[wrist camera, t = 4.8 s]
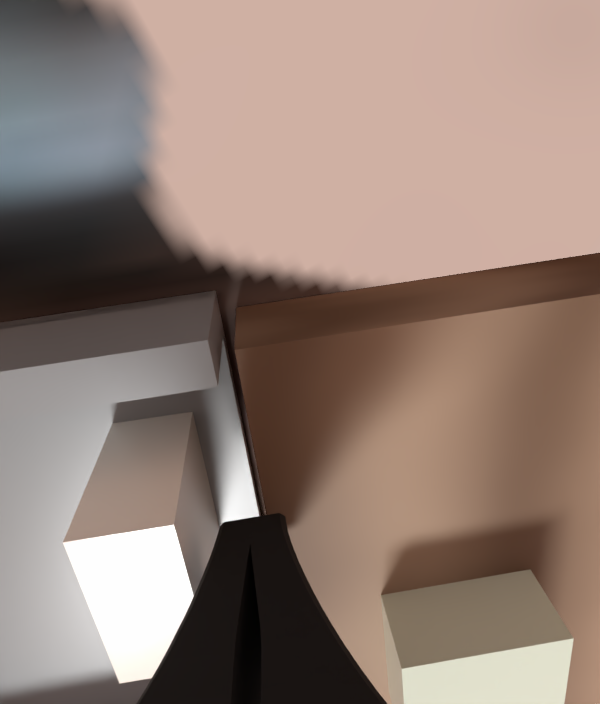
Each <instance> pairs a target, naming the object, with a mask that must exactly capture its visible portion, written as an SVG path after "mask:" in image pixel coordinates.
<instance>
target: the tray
mask: <svg viewBox="0 0 600 704" xmlns="http://www.w3.org/2000/svg"><path fill="white" fill-rule="evenodd" d="M187 412H193V416H194V420H195V424H196V429H197V433H198V437H199V442H200V446H201V450H202V455H203V459H204V463H205V468H206V472H207V476H208V481H209V485H210V489H211V494H212V498H213V502H214V507H215V511H216V515H217V520H218V524H219V528H220V526H221V525H222V524H223V523H224V522H227V521H234V520H240V519H246V518H252V517H258V516H261V512H260V507H259V502H258V497H257V492H256V487H255V482H254V477H253V472H252V467H251V463H250V458H249V453H248V448H247V443H246V438H245V433H244V428H243V423H242V418H241V413H240V408H239V403H238V398H237V393H236V388H235V383H234V378H233V373H232V368H231V363H230V358H229V353H228V349H227V344H226V339H225V334H224V329H223V324H222V319H221V314H220V309H219V304H218V299H217V294H216V290H215V291H209V292H202V293H195V294H189V295H182V296H175V297H168V298H162V299H155V300H148V301H142V302H135V303H128V304H122V305H115V306H108V307H101V308H95V309H88V310H81V311H75V312H68V313H61V314H55V315H48V316H41V317H35V318H28V319H21V320H14V321H8V322H1V323H0V704H136V703H137V702H138V700H139V699H140V697H141V695H142V694H143V692H144V690H145V689H146V687H147V685H148V684H149V682H150V680H151V679H152V678H149V679H143V680H137V681H132V682H126V683H119V681H118V678H117V676H116V673H115V671H114V668H113V666H112V664H111V661H110V659H109V656H108V654H107V651H106V649H105V646H104V644H103V641H102V639H101V636H100V634H99V631H98V629H97V626H96V624H95V621H94V619H93V616H92V614H91V611H90V609H89V606H88V604H87V601H86V599H85V597H84V594H83V592H82V589H81V587H80V584H79V582H78V579H77V577H76V574H75V572H74V569H73V567H72V564H71V562H70V559H69V557H68V554H67V552H66V549H65V547H64V544H63V541H64V538H65V536H66V534H67V531H68V529H69V526H70V524H71V522H72V519H73V517H74V514H75V512H76V510H77V507H78V505H79V502H80V500H81V498H82V495H83V493H84V490H85V488H86V486H87V483H88V481H89V478H90V476H91V474H92V471H93V469H94V466H95V464H96V462H97V459H98V457H99V454H100V452H101V450H102V447H103V445H104V442H105V440H106V438H107V435H108V433H109V430H110V428H111V426H112V423H119V422H126V421H133V420H140V419H146V418H153V417H160V416H167V415H174V414H181V413H187Z"/></svg>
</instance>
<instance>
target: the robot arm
mask: <svg viewBox="0 0 600 704" xmlns="http://www.w3.org/2000/svg"><path fill="white" fill-rule="evenodd" d="M136 704H387V702H386V701H385V700H384V699H383V697H382V696H381V695H380V694H379V692H378V691H377V690H376V689H375V687H374V686H373V684H372V683H371V682H370V680H369V679H368V678H367V676H366V675H365V673H364V672H363V671H362V669H361V668H360V667H359V665H358V664H357V662H356V661H355V659H354V658H353V656H352V655H351V653H350V652H349V650H348V649H347V647H346V646H345V644H344V643H343V641H342V640H341V638H340V637H339V635H338V633H337V632H336V630H335V629H334V627H333V625H332V624H331V622H330V620H329V619H328V617H327V615H326V613H325V612H324V610H323V608H322V607H321V605H320V603H319V601H318V599H317V597H316V596H315V594H314V592H313V590H312V588H311V586H310V584H309V582H308V580H307V578H306V576H305V574H304V572H303V570H302V567H301V565H300V563H299V561H298V558H297V556H296V553H295V551H294V548H293V545H292V543H291V540H290V536H289V533H288V529H287V523H286V518H285V516H284V515H282V514H281V513H276V514H270V515H264V516H258V517H252V518H246V519H240V520H234V521H227V522H224V523H223V524H222V525H221V526H220V528H219V531H218V535H217V538H216V541H215V544H214V547H213V550H212V553H211V555H210V558H209V561H208V563H207V566H206V568H205V571H204V573H203V576H202V578H201V581H200V583H199V585H198V588H197V590H196V592H195V594H194V597H193V599H192V601H191V604H190V606H189V608H188V610H187V612H186V614H185V616H184V618H183V620H182V622H181V624H180V626H179V628H178V630H177V632H176V634H175V636H174V638H173V640H172V642H171V644H170V646H169V648H168V650H167V652H166V654H165V656H164V657H163V659H162V661H161V663H160V665H159V666H158V668H157V670H156V672H155V673H154V675H153V677H152V679H151V680H150V682H149V684H148V685H147V687H146V689H145V690H144V692H143V694H142V695H141V697H140V699H139V700H138V702H137V703H136Z"/></svg>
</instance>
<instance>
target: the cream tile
mask: <svg viewBox="0 0 600 704" xmlns="http://www.w3.org/2000/svg"><path fill="white" fill-rule="evenodd" d="M218 531H219V524H218V520H217V515H216V511H215V507H214V502H213V498H212V494H211V489H210V485H209V481H208V476H207V472H206V468H205V463H204V459H203V455H202V450H201V446H200V442H199V437H198V433H197V429H196V424H195V420H194V416H193V412H187V413H181V414H174V415H167V416H160V417H153V418H146V419H140V420H133V421H126V422H119V423H112V426H111V428H110V430H109V433H108V435H107V438H106V440H105V442H104V445H103V447H102V450H101V452H100V454H99V457H98V459H97V462H96V464H95V466H94V469H93V471H92V474H91V476H90V478H89V481H88V483H87V486H86V488H85V490H84V493H83V495H82V498H81V500H80V502H79V505H78V507H77V510H76V512H75V514H74V517H73V519H72V522H71V524H70V526H69V529H68V531H67V534H66V536H65V538H64V541H63V544H64V547H65V549H66V552H67V554H68V557H69V559H70V562H71V564H72V567H73V569H74V572H75V574H76V577H77V579H78V582H79V584H80V587H81V589H82V592H83V594H84V597H85V599H86V601H87V604H88V606H89V609H90V611H91V614H92V616H93V619H94V621H95V624H96V626H97V629H98V631H99V634H100V636H101V639H102V641H103V644H104V646H105V649H106V651H107V654H108V656H109V659H110V661H111V664H112V666H113V668H114V671H115V673H116V676H117V678H118V681H119V683H126V682H132V681H137V680H143V679H149V678H152V677H153V675H154V673H155V672H156V670H157V668H158V666H159V665H160V663H161V661H162V659H163V657H164V656H165V654H166V652H167V650H168V648H169V646H170V644H171V642H172V640H173V638H174V636H175V634H176V632H177V630H178V628H179V626H180V624H181V622H182V620H183V618H184V616H185V614H186V612H187V610H188V608H189V606H190V604H191V601H192V599H193V597H194V594H195V592H196V590H197V588H198V585H199V583H200V581H201V578H202V576H203V573H204V571H205V568H206V566H207V563H208V561H209V558H210V555H211V553H212V550H213V547H214V544H215V541H216V538H217V535H218Z"/></svg>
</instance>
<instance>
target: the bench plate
mask: <svg viewBox="0 0 600 704" xmlns="http://www.w3.org/2000/svg"><path fill="white" fill-rule="evenodd" d="M235 355H236V360H237V365H238V371H239V376H240V381H241V386H242V391H243V396H244V401H245V406H246V411H247V417H248V422H249V427H250V432H251V437H252V442H253V447H254V452H255V457H256V462H257V468H258V473H259V478H260V483H261V488H262V493H263V498H264V503H265V508H266V514H267V515H270V514H276V513H281V514H282V515H284V516H285V518H286V523H287V529H288V533H289V536H290V540H291V543H292V545H293V548H294V551H295V553H296V556H297V558H298V561H299V563H300V565H301V567H302V570H303V572H304V574H305V576H306V578H307V580H308V582H309V584H310V586H311V588H312V590H313V592H314V594H315V596H316V597H317V599H318V601H319V603H320V605H321V607H322V608H323V610H324V612H325V613H326V615H327V617H328V619H329V620H330V622H331V624H332V625H333V627H334V629H335V630H336V632H337V633H338V635H339V637H340V638H341V640H342V641H343V643H344V644H345V646H346V647H347V649H348V650H349V652H350V653H351V655H352V656H353V658H354V659H355V661H356V662H357V664H358V665H359V667H360V668H361V669H362V671H363V672H364V673H365V675H366V676H367V678H368V679H369V680H370V682H371V683H372V684H373V686H374V687H375V689H376V690H377V691H378V692H379V694H380V695H381V696H382V697H383V699H384V700H385V701H386V702H387V704H392V702H391V698H390V694H389V688H388V676H387V664H386V652H385V640H384V628H383V616H382V604H381V595H384V594H390V593H396V592H402V591H407V590H413V589H419V588H425V587H431V586H437V585H442V584H448V583H454V582H460V581H466V580H471V579H477V578H483V577H489V576H495V575H501V574H506V573H512V572H518V571H524V570H530V569H531V571H532V573H533V574H534V576H535V577H536V579H537V581H538V582H539V584H540V585H541V587H542V589H543V590H544V592H545V593H546V595H547V597H548V598H549V600H550V601H551V603H552V605H553V606H554V608H555V609H556V611H557V613H558V614H559V616H560V617H561V619H562V621H563V622H564V624H565V625H566V627H567V629H568V630H569V632H570V633H571V635H572V636H573V638H574V640H573V647H572V654H571V661H570V667H569V674H568V681H567V688H566V695H565V702H564V704H600V253H595V254H589V255H582V256H576V257H569V258H563V259H556V260H549V261H543V262H536V263H529V264H523V265H516V266H509V267H503V268H496V269H489V270H483V271H476V272H469V273H463V274H456V275H449V276H443V277H437V278H430V279H423V280H416V281H410V282H403V283H396V284H390V285H383V286H376V287H370V288H363V289H357V290H350V291H343V292H337V293H330V294H323V295H317V296H310V297H303V298H297V299H290V300H284V301H277V302H270V303H264V304H257V305H250V306H244V307H237V308H236V325H235Z"/></svg>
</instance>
